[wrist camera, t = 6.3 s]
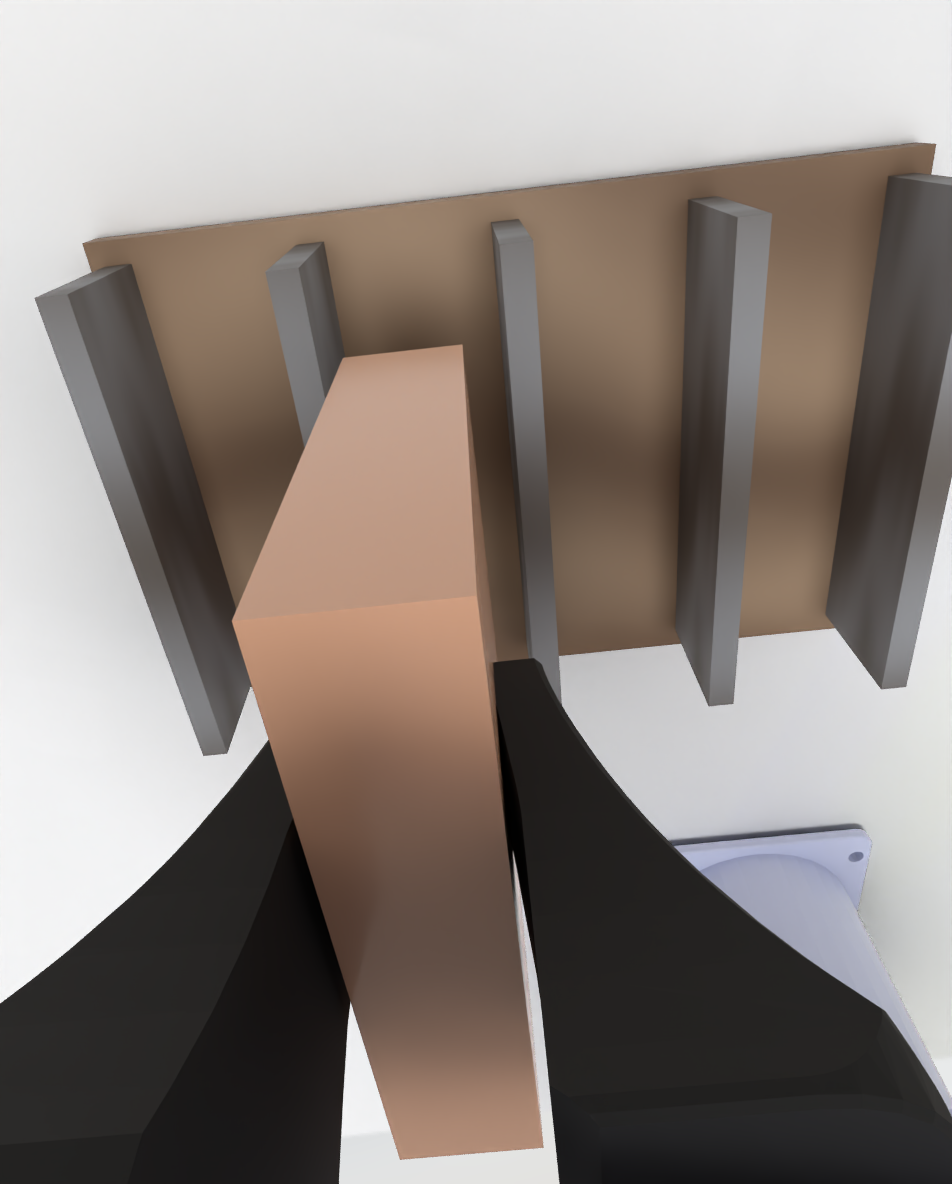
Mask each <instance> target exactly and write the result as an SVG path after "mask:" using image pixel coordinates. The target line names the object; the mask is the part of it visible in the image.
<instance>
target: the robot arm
mask: <svg viewBox="0 0 952 1184" xmlns="http://www.w3.org/2000/svg"><path fill="white" fill-rule="evenodd" d="M493 665H494V682H495V697H496V708H497V717H498V725H499V734H500V743H501V751H502V760H503V769H504V777H505V786H506V794H507V803H508V812H509V820H510V829H511V838H512V846H513V853H514V858H515V864H516V869H517V874H518V879H519V885H520V890H521V895H522V900H523V905H524V911H525V916H526V921H527V926H528V932H529V937H530V942H531V947H532V953H533V958H534V963H535V968H536V973H537V980H538V987H539V993H540V1000H541V1008H542V1018H543V1028H544V1038H545V1047H546V1057H547V1067H548V1077H549V1086H550V1096H551V1105H552V1115H553V1125H554V1134H555V1143H556V1153H557V1163H558V1173H559V1182H560V1184H952V1098H951V1096H950V1094H949V1092H948V1090H947V1088H946V1086H945V1084H944V1082H943V1080H942V1078H941V1076H940V1074H939V1072H938V1070H937V1068H936V1066H935V1064H934V1062H933V1060H932V1058H931V1056H930V1054H929V1052H928V1050H927V1049H926V1047H925V1045H924V1043H923V1041H922V1039H921V1037H920V1035H919V1033H918V1031H917V1029H916V1027H915V1025H914V1023H913V1021H912V1019H911V1017H910V1015H909V1013H908V1011H907V1009H906V1007H905V1005H904V1003H903V1001H902V999H901V998H900V996H899V994H898V992H897V990H896V988H895V986H894V984H893V982H892V980H891V978H890V976H889V974H888V972H887V970H886V968H885V966H884V964H883V962H882V960H881V958H880V956H879V954H878V952H877V950H876V948H875V946H874V945H873V943H872V941H871V939H870V937H869V935H868V933H867V931H866V929H865V927H864V925H863V923H862V921H861V919H860V917H859V915H858V913H857V911H858V906H859V901H860V897H861V892H862V888H863V883H864V878H865V874H866V869H867V865H868V860H869V856H870V851H871V846H872V840H871V839H870V837H869V835H868V834H867V833H866V831H864V830H862V829H849V830H838V831H827V832H817V833H806V834H795V835H785V836H774V837H763V838H752V839H742V840H731V841H720V842H710V843H699V844H688V845H678V846H673V845H672V844H671V843H670V842H669V841H668V840H667V839H666V838H665V837H664V836H663V835H662V834H661V833H660V832H659V831H658V830H657V829H656V828H655V827H654V826H653V825H652V824H651V823H650V821H649V820H648V819H647V818H646V817H645V816H644V815H643V814H642V813H641V812H640V810H639V809H638V808H637V807H636V806H635V805H634V804H633V802H632V801H631V800H630V799H629V798H628V797H627V796H626V794H625V793H624V792H623V791H622V789H621V788H620V787H619V786H618V784H617V783H616V782H615V781H614V780H613V778H612V777H611V776H610V775H609V773H608V772H607V771H606V770H605V768H604V767H603V766H602V764H601V763H600V762H599V760H598V759H597V758H596V756H595V755H594V753H593V752H592V751H591V749H590V748H589V746H588V745H587V743H586V742H585V741H584V739H583V738H582V736H581V735H580V733H579V732H578V731H577V729H576V728H575V726H574V725H573V723H572V721H571V720H570V718H569V717H568V715H567V713H566V712H565V710H564V708H563V707H562V705H561V703H560V702H559V700H558V698H557V696H556V694H555V693H554V691H553V689H552V687H551V685H550V683H549V681H548V678H547V676H546V674H545V672H544V669H543V666H542V664H541V663H540V662H539V661H537V660H536V659H535V658H529V659H519V660H509V661H499V662H493ZM349 1009H350V998H349V995H348V991H347V988H346V985H345V982H344V979H343V975H342V972H341V969H340V966H339V963H338V959H337V956H336V953H335V950H334V947H333V943H332V940H331V937H330V934H329V931H328V927H327V924H326V921H325V918H324V915H323V911H322V908H321V905H320V902H319V899H318V895H317V892H316V889H315V886H314V883H313V879H312V876H311V873H310V870H309V867H308V863H307V860H306V857H305V854H304V851H303V847H302V844H301V841H300V838H299V835H298V831H297V828H296V825H295V822H294V819H293V815H292V812H291V809H290V806H289V803H288V799H287V796H286V793H285V790H284V787H283V783H282V780H281V777H280V774H279V771H278V767H277V764H276V761H275V758H274V755H273V751H272V748H271V745H270V742H269V740H268V741H267V743H266V744H265V745H264V747H263V748H262V749H261V751H260V752H259V753H258V754H257V756H256V757H255V758H254V760H253V761H252V762H251V764H250V765H249V766H248V768H247V769H246V770H245V771H244V773H243V774H242V775H241V777H240V778H239V779H238V781H237V782H236V783H235V784H234V786H233V787H232V788H231V789H230V791H229V792H228V793H227V794H226V795H225V796H224V798H223V799H222V800H221V801H220V802H219V804H218V805H217V806H216V807H215V808H214V809H213V811H212V812H211V813H210V814H209V815H208V816H207V818H206V819H205V820H204V821H203V822H202V824H201V825H200V826H199V827H198V828H197V829H196V831H195V832H194V833H193V834H192V835H191V836H190V837H189V838H188V839H187V840H186V842H185V843H184V844H183V845H182V846H181V847H180V848H179V849H178V850H177V851H176V852H175V853H174V854H173V856H172V857H171V858H170V859H169V860H168V861H167V862H166V863H165V864H164V865H163V866H162V867H161V868H160V869H159V870H158V871H157V872H156V873H155V874H154V875H153V876H152V877H151V878H150V879H149V880H148V881H147V882H146V883H145V884H143V885H142V886H141V887H140V888H139V889H138V890H137V891H136V892H135V893H134V894H133V895H132V896H131V897H130V898H129V899H127V900H126V901H125V902H124V903H123V904H122V905H121V906H119V907H118V908H117V909H116V910H115V911H114V912H112V913H111V914H110V915H109V916H108V917H107V918H106V919H104V920H103V921H102V922H101V923H100V924H99V925H98V926H96V927H95V928H94V929H93V930H92V931H91V932H90V933H88V934H87V935H86V936H85V937H84V938H83V939H81V940H80V941H79V942H78V943H77V944H76V945H75V946H73V947H72V948H71V949H70V950H69V951H67V952H66V953H65V954H64V955H63V956H61V957H60V958H59V959H58V960H56V961H55V962H54V963H53V964H51V965H50V966H49V967H47V968H46V969H45V970H44V971H42V972H41V973H40V974H39V975H37V976H36V977H35V978H33V979H32V980H31V981H30V982H28V983H27V984H26V985H24V986H23V987H22V988H20V989H19V990H18V991H16V992H15V993H14V994H12V995H11V996H10V997H8V998H7V999H6V1000H4V1001H3V1002H2V1003H0V1184H339V1167H340V1147H341V1146H340V1145H341V1128H342V1108H343V1090H344V1074H345V1058H346V1042H347V1027H348V1017H349Z"/></svg>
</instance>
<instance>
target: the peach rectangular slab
mask: <svg viewBox="0 0 952 1184" xmlns="http://www.w3.org/2000/svg"><path fill="white" fill-rule="evenodd" d="M232 623H233V627H234V630H235V633H236V636H237V639H238V643H239V646H240V649H241V652H242V655H243V659H244V662H245V665H246V668H247V671H248V675H249V678H250V681H251V684H252V687H253V691H254V694H255V697H256V700H257V703H258V707H259V710H260V713H261V716H262V719H263V723H264V726H265V729H266V732H267V735H268V739H269V742H270V745H271V748H272V751H273V755H274V758H275V761H276V764H277V767H278V771H279V774H280V777H281V780H282V783H283V787H284V790H285V793H286V796H287V799H288V803H289V806H290V809H291V812H292V815H293V819H294V822H295V825H296V828H297V831H298V835H299V838H300V841H301V844H302V847H303V851H304V854H305V857H306V860H307V863H308V867H309V870H310V873H311V876H312V879H313V883H314V886H315V889H316V892H317V895H318V899H319V902H320V905H321V908H322V911H323V915H324V918H325V921H326V924H327V927H328V931H329V934H330V937H331V940H332V943H333V947H334V950H335V953H336V956H337V959H338V963H339V966H340V969H341V972H342V975H343V979H344V982H345V985H346V988H347V991H348V995H349V998H350V1001H351V1004H352V1007H353V1011H354V1014H355V1017H356V1020H357V1023H358V1027H359V1030H360V1033H361V1036H362V1039H363V1043H364V1046H365V1049H366V1052H367V1055H368V1059H369V1062H370V1065H371V1068H372V1071H373V1075H374V1078H375V1081H376V1084H377V1087H378V1091H379V1094H380V1097H381V1100H382V1103H383V1107H384V1110H385V1113H386V1116H387V1119H388V1123H389V1126H390V1129H391V1132H392V1135H393V1139H394V1142H395V1145H396V1148H397V1151H398V1154H399V1158H400V1160H402V1159H413V1158H426V1157H438V1156H450V1155H461V1154H474V1153H485V1152H498V1151H509V1150H521V1149H533V1148H543V1137H542V1125H541V1114H540V1103H539V1092H538V1081H537V1070H536V1059H535V1048H534V1037H533V1026H532V1015H531V1004H530V993H529V982H528V971H527V961H526V950H525V939H524V928H523V917H522V906H521V895H520V885H519V879H518V874H517V869H516V864H515V858H514V853H513V846H512V838H511V829H510V820H509V812H508V803H507V794H506V786H505V777H504V769H503V760H502V751H501V743H500V734H499V725H498V717H497V708H496V697H495V682H494V665H493V662H498V661H497V652H496V643H495V634H494V625H493V616H492V607H491V598H490V589H489V580H488V571H487V562H486V553H485V544H484V535H483V526H482V517H481V508H480V498H479V489H478V480H477V471H476V462H475V453H474V444H473V435H472V426H471V417H470V408H469V399H468V390H467V381H466V372H465V363H464V354H463V345H462V344H461V345H452V346H443V347H435V348H426V349H417V350H408V351H399V352H390V353H381V354H372V355H363V356H355V357H346V358H343V359H342V361H341V364H340V366H339V368H338V371H337V373H336V375H335V378H334V380H333V383H332V385H331V387H330V390H329V392H328V394H327V397H326V399H325V401H324V404H323V406H322V409H321V411H320V413H319V416H318V418H317V420H316V423H315V425H314V428H313V430H312V432H311V435H310V437H309V439H308V442H307V444H306V446H305V449H304V451H303V454H302V456H301V458H300V461H299V463H298V465H297V468H296V470H295V472H294V475H293V477H292V480H291V482H290V484H289V487H288V489H287V491H286V494H285V496H284V499H283V501H282V503H281V506H280V508H279V510H278V513H277V515H276V517H275V520H274V522H273V525H272V527H271V529H270V532H269V534H268V536H267V539H266V541H265V544H264V546H263V548H262V551H261V553H260V555H259V558H258V560H257V562H256V565H255V567H254V570H253V572H252V574H251V577H250V579H249V581H248V584H247V586H246V589H245V591H244V593H243V596H242V598H241V600H240V603H239V605H238V607H237V610H236V612H235V615H234V617H233V619H232Z"/></svg>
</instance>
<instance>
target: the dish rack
mask: <svg viewBox="0 0 952 1184" xmlns="http://www.w3.org/2000/svg"><path fill="white" fill-rule="evenodd" d="M935 148H936V144H929V143H910V144H901V145H893V146H884V147H876V148H867V149H859V150H850V151H842V152H833V153H824V154H816V155H807V156H799V157H790V158H782V159H773V160H765V161H756V162H747V163H739V164H730V165H722V166H713V167H705V168H696V169H688V170H679V171H670V172H662V173H653V174H645V175H636V176H628V177H619V178H611V179H602V180H593V181H585V182H576V183H568V184H559V185H551V186H542V187H534V188H525V189H516V190H508V191H499V192H491V193H482V194H474V195H465V196H457V197H448V198H440V199H431V200H422V201H414V202H405V203H397V204H388V205H380V206H371V207H363V208H354V209H345V210H337V211H328V212H320V213H311V214H303V215H294V216H286V217H277V218H268V219H260V220H251V221H243V222H234V223H226V224H217V225H209V226H200V227H191V228H183V229H174V230H166V231H157V232H149V233H140V234H132V235H123V236H114V237H106V238H97V239H94V240H91V241H88V242H86V243H83V247H84V250H85V253H86V256H87V259H88V262H89V265H90V268H91V271H92V273H90V274H87V275H85V276H83V277H81V278H79V279H76V280H74V281H72V282H70V283H67V284H65V285H63V286H61V287H59V288H56V289H54V290H52V291H50V292H47V293H45V294H43V295H41V296H39V297H36V298H35V301H36V303H37V306H38V309H39V312H40V314H41V317H42V320H43V322H44V325H45V328H46V331H47V333H48V336H49V339H50V341H51V344H52V347H53V350H54V352H55V355H56V358H57V360H58V363H59V366H60V369H61V371H62V374H63V377H64V379H65V382H66V385H67V387H68V390H69V393H70V396H71V398H72V401H73V404H74V406H75V409H76V412H77V415H78V417H79V420H80V423H81V425H82V428H83V431H84V434H85V436H86V439H87V442H88V444H89V447H90V450H91V452H92V455H93V458H94V461H95V463H96V466H97V469H98V471H99V474H100V477H101V480H102V482H103V485H104V488H105V490H106V493H107V496H108V499H109V501H110V504H111V507H112V509H113V512H114V515H115V518H116V520H117V523H118V526H119V528H120V531H121V534H122V536H123V539H124V542H125V545H126V547H127V550H128V553H129V555H130V558H131V561H132V564H133V566H134V569H135V572H136V574H137V577H138V580H139V583H140V585H141V588H142V591H143V593H144V596H145V599H146V602H147V604H148V607H149V610H150V612H151V615H152V618H153V620H154V623H155V626H156V629H157V631H158V634H159V637H160V639H161V642H162V645H163V648H164V650H165V653H166V656H167V658H168V661H169V664H170V667H171V669H172V672H173V675H174V677H175V680H176V683H177V686H178V688H179V691H180V694H181V696H182V699H183V702H184V704H185V707H186V710H187V713H188V715H189V718H190V721H191V723H192V726H193V729H194V732H195V734H196V737H197V740H198V742H199V745H200V748H201V751H202V753H203V756H207V755H217V754H227V752H228V750H229V747H230V744H231V741H232V738H233V735H234V732H235V729H236V726H237V724H238V721H239V718H240V715H241V712H242V709H243V706H244V703H245V700H246V698H247V695H248V692H249V689H250V687H252V684H251V681H250V678H249V675H248V671H247V668H246V665H245V662H244V659H243V655H242V652H241V649H240V646H239V643H238V639H237V636H236V633H235V630H234V627H233V623H232V619H233V617H234V615H235V612H236V610H237V607H238V605H239V603H240V600H241V598H242V596H243V593H244V591H245V589H246V586H247V584H248V581H249V579H250V577H251V574H252V572H253V570H254V567H255V565H256V562H257V560H258V558H259V555H260V553H261V551H262V548H263V546H264V544H265V541H266V539H267V536H268V534H269V532H270V529H271V527H272V525H273V522H274V520H275V517H276V515H277V513H278V510H279V508H280V506H281V503H282V501H283V499H284V496H285V494H286V491H287V489H288V487H289V484H290V482H291V480H292V477H293V475H294V472H295V470H296V468H297V465H298V463H299V461H300V458H301V456H302V454H303V451H304V449H305V446H306V444H307V442H308V439H309V437H310V435H311V432H312V430H313V428H314V425H315V423H316V420H317V418H318V416H319V413H320V411H321V409H322V406H323V404H324V401H325V399H326V397H327V394H328V392H329V390H330V387H331V385H332V383H333V380H334V378H335V375H336V373H337V371H338V368H339V366H340V364H341V361H342V359H343V358H346V357H355V356H363V355H372V354H381V353H390V352H399V351H408V350H417V349H426V348H435V347H443V346H452V345H461V344H462V345H463V354H464V363H465V372H466V381H467V390H468V399H469V408H470V417H471V426H472V435H473V444H474V453H475V462H476V471H477V480H478V489H479V498H480V508H481V517H482V526H483V535H484V544H485V553H486V562H487V571H488V580H489V589H490V598H491V607H492V616H493V625H494V634H495V643H496V652H497V661H498V662H499V661H509V660H519V659H529V658H535V659H536V660H537V661H539V662H540V663H541V664H542V666H543V669H544V672H545V674H546V676H547V678H548V681H549V683H550V685H551V687H552V689H553V691H554V693H555V694H556V696H557V698H558V700H559V702H560V703H561V687H560V670H559V656H563V655H573V654H582V653H592V652H602V651H612V650H622V649H632V648H642V647H652V646H662V645H672V644H682V646H683V648H684V651H685V653H686V655H687V658H688V660H689V662H690V664H691V667H692V669H693V671H694V674H695V676H696V678H697V680H698V683H699V685H700V687H701V690H702V692H703V694H704V696H705V699H706V701H707V703H708V706H716V705H726V704H733V701H734V688H735V676H736V663H737V650H738V638H742V637H752V636H762V635H772V634H781V633H791V632H801V631H811V630H821V629H831V628H836V630H837V631H838V632H839V634H840V635H841V636H842V638H843V639H844V640H845V642H846V643H847V644H848V646H849V647H850V648H851V650H852V651H853V652H854V654H855V655H856V656H857V658H858V659H859V660H860V662H861V663H862V664H863V666H864V667H865V668H866V670H867V671H868V672H869V674H870V675H871V676H872V678H873V679H874V680H875V682H876V683H877V684H878V686H879V687H880V688H881V689H889V688H899V687H906V685H907V680H908V675H909V671H910V666H911V662H912V657H913V652H914V648H915V643H916V639H917V634H918V629H919V625H920V620H921V616H922V611H923V606H924V602H925V597H926V593H927V588H928V583H929V579H930V574H931V570H932V565H933V560H934V556H935V551H936V547H937V542H938V537H939V533H940V528H941V524H942V519H943V514H944V510H945V505H946V501H947V496H948V491H949V487H950V482H951V478H952V177H946V176H938V175H931V172H932V166H933V160H934V154H935ZM561 705H562V703H561Z"/></svg>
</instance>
